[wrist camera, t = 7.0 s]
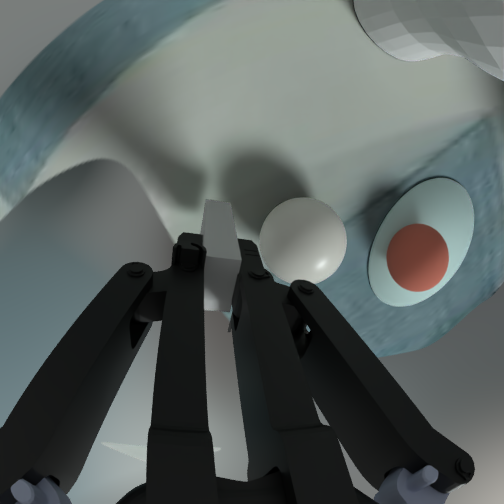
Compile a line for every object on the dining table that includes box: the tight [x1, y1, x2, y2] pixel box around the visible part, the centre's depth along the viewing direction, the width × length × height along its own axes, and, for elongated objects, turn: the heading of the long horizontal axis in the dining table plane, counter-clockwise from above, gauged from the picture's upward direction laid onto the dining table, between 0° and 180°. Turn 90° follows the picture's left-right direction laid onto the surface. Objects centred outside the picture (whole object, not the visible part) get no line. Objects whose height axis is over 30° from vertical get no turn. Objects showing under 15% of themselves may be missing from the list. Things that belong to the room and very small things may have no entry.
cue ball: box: [260, 197, 347, 284], centre depth 18 cm, size 6×6×6 cm
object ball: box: [386, 224, 449, 292], centre depth 20 cm, size 6×6×6 cm
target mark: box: [368, 178, 474, 306], centre depth 23 cm, size 14×14×1 cm
